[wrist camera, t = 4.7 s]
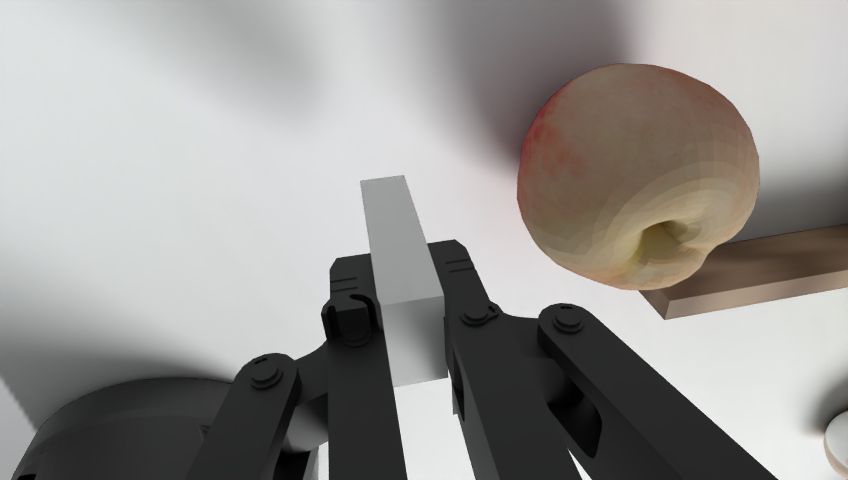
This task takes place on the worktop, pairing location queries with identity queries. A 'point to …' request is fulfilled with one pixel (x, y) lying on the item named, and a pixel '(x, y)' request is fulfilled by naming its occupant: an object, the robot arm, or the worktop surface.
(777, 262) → the wooden frame
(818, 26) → the worktop surface
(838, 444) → the garlic bulb
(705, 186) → the fruit
